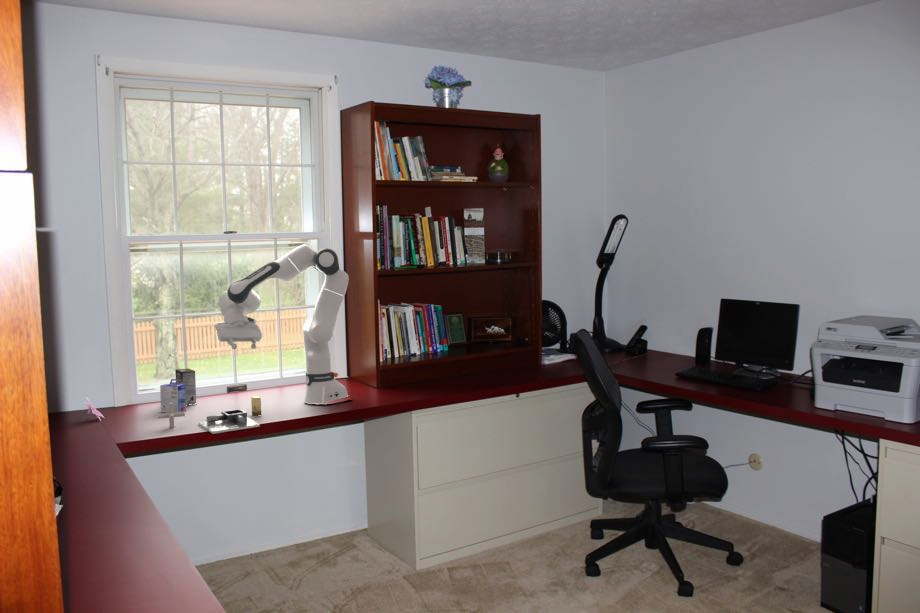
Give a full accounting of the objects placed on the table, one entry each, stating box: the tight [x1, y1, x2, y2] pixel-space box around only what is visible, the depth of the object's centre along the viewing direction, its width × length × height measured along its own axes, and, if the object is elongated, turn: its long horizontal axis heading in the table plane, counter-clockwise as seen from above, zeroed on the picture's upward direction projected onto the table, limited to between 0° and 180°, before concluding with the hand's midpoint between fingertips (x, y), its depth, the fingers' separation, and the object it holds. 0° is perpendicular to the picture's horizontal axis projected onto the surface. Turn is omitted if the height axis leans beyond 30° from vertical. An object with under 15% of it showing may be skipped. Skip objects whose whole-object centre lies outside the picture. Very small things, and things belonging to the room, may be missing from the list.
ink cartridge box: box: [159, 378, 187, 413], centre depth 328 cm, size 10×6×14 cm, turn 71°
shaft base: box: [197, 408, 261, 435], centre depth 302 cm, size 19×19×4 cm
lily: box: [82, 396, 105, 422], centre depth 313 cm, size 12×12×10 cm
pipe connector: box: [157, 403, 186, 429], centre depth 300 cm, size 10×10×10 cm
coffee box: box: [174, 368, 197, 405], centre depth 344 cm, size 9×6×16 cm
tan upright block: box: [250, 396, 262, 417], centre depth 319 cm, size 4×4×8 cm
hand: (244, 348), depth 326 cm, fingers open, 8 cm apart
